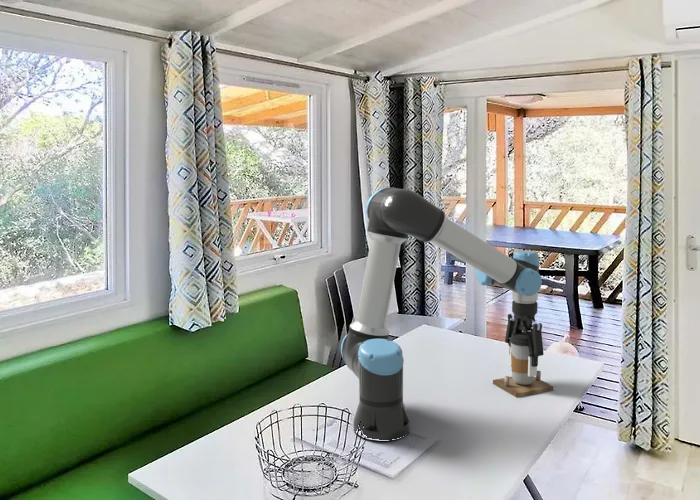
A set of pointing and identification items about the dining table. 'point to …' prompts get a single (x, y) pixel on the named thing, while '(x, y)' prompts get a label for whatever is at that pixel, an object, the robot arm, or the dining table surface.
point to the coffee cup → (520, 358)
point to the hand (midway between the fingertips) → (522, 370)
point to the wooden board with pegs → (523, 386)
